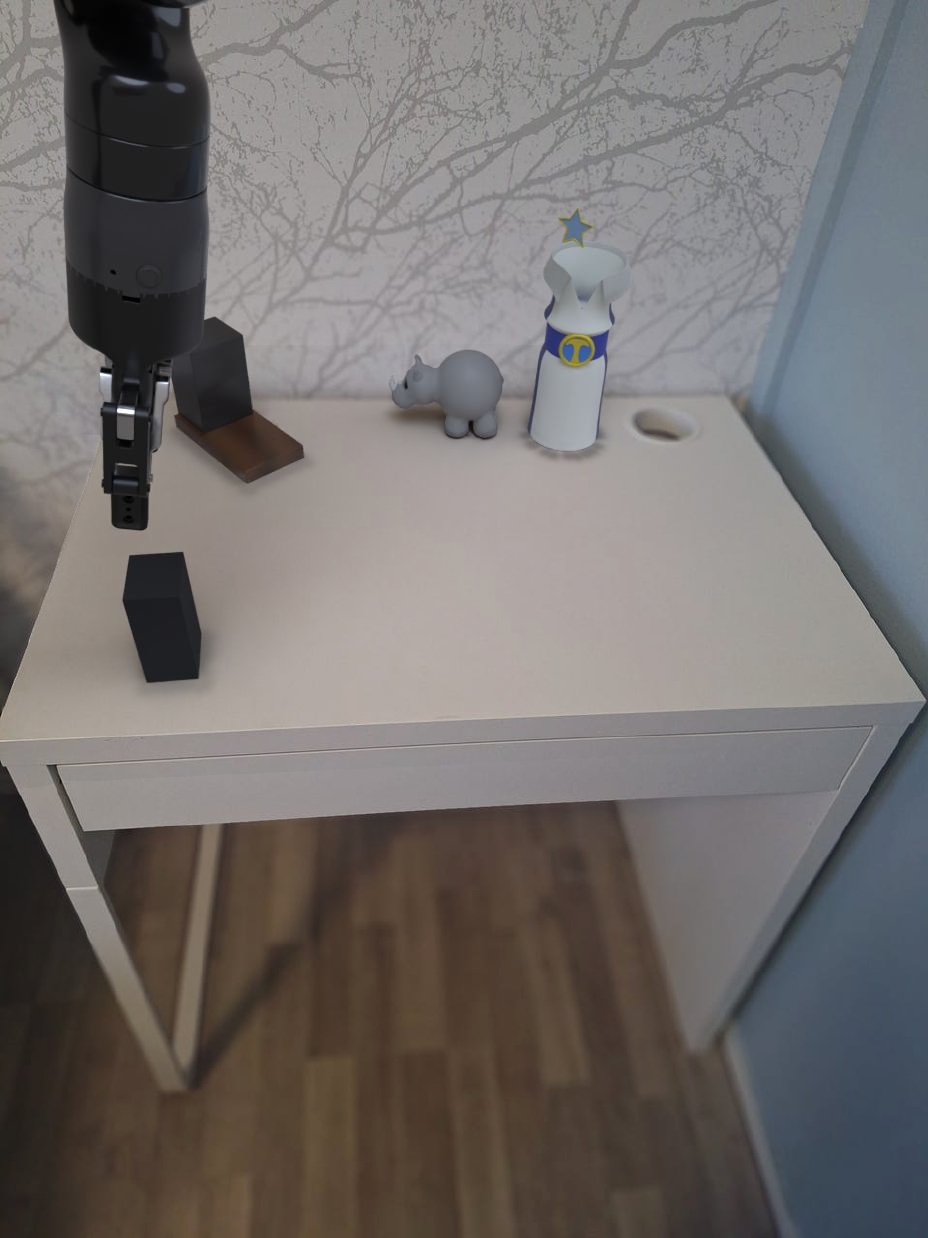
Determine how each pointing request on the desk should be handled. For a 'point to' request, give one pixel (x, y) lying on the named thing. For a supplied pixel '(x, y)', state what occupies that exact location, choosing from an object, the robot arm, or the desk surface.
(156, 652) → the black rectangular block
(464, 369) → the round bodied animal figurine
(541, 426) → the white piece
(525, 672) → the desk surface
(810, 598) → the desk surface
